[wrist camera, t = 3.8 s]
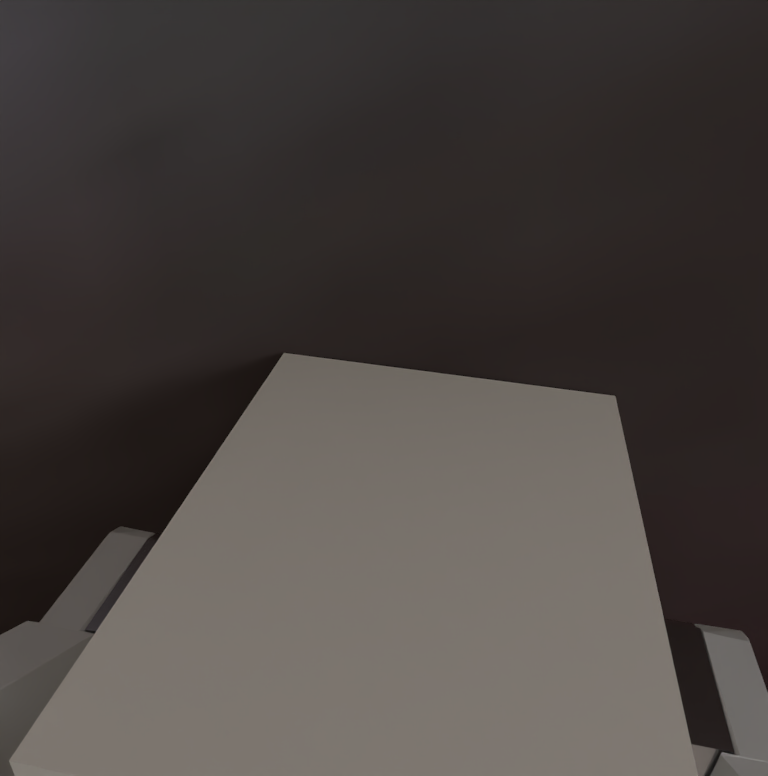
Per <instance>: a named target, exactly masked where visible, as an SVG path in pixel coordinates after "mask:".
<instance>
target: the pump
mask: <svg viewBox="0 0 768 776" xmlns="http://www.w3.org/2000/svg"><path fill="white" fill-rule="evenodd" d="M9 762H10V765H11V767H12V770H13V773H14V775H15V776H698V773H697V768H696V764H695V759H694V755H693V750H692V746H691V741H690V736H689V732H688V727H687V723H686V718H685V713H684V709H683V704H682V700H681V695H680V690H679V686H678V681H677V677H676V672H675V668H674V663H673V658H672V654H671V649H670V645H669V640H668V635H667V631H666V626H665V622H664V617H663V612H662V608H661V603H660V599H659V594H658V590H657V585H656V580H655V576H654V571H653V567H652V562H651V557H650V553H649V548H648V544H647V539H646V534H645V530H644V525H643V521H642V516H641V512H640V507H639V502H638V498H637V493H636V489H635V484H634V479H633V475H632V470H631V466H630V461H629V456H628V452H627V447H626V443H625V438H624V434H623V429H622V424H621V420H620V415H619V411H618V406H617V401H616V397H615V396H613V395H605V394H597V393H590V392H582V391H574V390H566V389H559V388H551V387H543V386H536V385H528V384H520V383H512V382H505V381H497V380H489V379H482V378H474V377H466V376H458V375H451V374H443V373H435V372H428V371H420V370H412V369H405V368H397V367H389V366H381V365H374V364H366V363H358V362H351V361H343V360H335V359H327V358H320V357H312V356H304V355H297V354H289V353H283V355H282V356H281V358H280V359H279V361H278V362H277V364H276V365H275V367H274V368H273V370H272V371H271V373H270V374H269V376H268V377H267V379H266V380H265V382H264V383H263V385H262V386H261V388H260V389H259V391H258V392H257V393H256V395H255V396H254V398H253V399H252V401H251V402H250V404H249V405H248V407H247V408H246V410H245V411H244V413H243V414H242V416H241V417H240V419H239V420H238V422H237V423H236V425H235V426H234V428H233V429H232V431H231V432H230V434H229V435H228V437H227V438H226V439H225V441H224V442H223V444H222V445H221V447H220V448H219V450H218V451H217V453H216V454H215V456H214V457H213V459H212V460H211V462H210V463H209V465H208V466H207V468H206V469H205V471H204V472H203V474H202V475H201V477H200V478H199V480H198V481H197V482H196V484H195V485H194V487H193V488H192V490H191V491H190V493H189V494H188V496H187V497H186V499H185V500H184V502H183V503H182V505H181V506H180V508H179V509H178V511H177V512H176V514H175V515H174V517H173V518H172V520H171V521H170V523H169V524H168V526H167V527H166V528H165V530H164V531H163V533H162V534H161V536H160V537H159V539H158V540H157V542H156V543H155V545H154V546H153V548H152V549H151V551H150V552H149V554H148V555H147V557H146V558H145V560H144V561H143V563H142V564H141V566H140V567H139V569H138V570H137V572H136V573H135V574H134V576H133V577H132V579H131V580H130V582H129V583H128V585H127V586H126V588H125V589H124V591H123V592H122V594H121V595H120V597H119V598H118V600H117V601H116V603H115V604H114V606H113V607H112V609H111V610H110V612H109V613H108V615H107V616H106V617H105V619H104V620H103V622H102V623H101V625H100V626H99V628H98V629H97V631H96V632H95V634H94V635H93V637H92V638H91V640H90V641H89V643H88V644H87V646H86V647H85V649H84V650H83V652H82V653H81V655H80V656H79V658H78V659H77V661H76V662H75V663H74V665H73V666H72V668H71V669H70V671H69V672H68V674H67V675H66V677H65V678H64V680H63V681H62V683H61V684H60V686H59V687H58V689H57V690H56V692H55V693H54V695H53V696H52V698H51V699H50V701H49V702H48V704H47V705H46V707H45V708H44V709H43V711H42V712H41V714H40V715H39V717H38V718H37V720H36V721H35V723H34V724H33V726H32V727H31V729H30V730H29V732H28V733H27V735H26V736H25V738H24V739H23V741H22V742H21V744H20V745H19V747H18V748H17V750H16V751H15V752H14V754H13V755H12V757H11V758H10V760H9Z"/></svg>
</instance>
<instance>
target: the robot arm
mask: <svg viewBox="0 0 768 776" xmlns="http://www.w3.org/2000/svg"><path fill="white" fill-rule="evenodd" d="M161 534H162V533H152V532H147V531H142V530H137V529H132V528H127V527H122V526H120V527H118V528H117V529H115V530H113V531H111V532H110V533H109V534H108V535H107V536H106V537H105V539H104V540H103V541H102V543H101V544H100V545H99V546H98V548H97V549H96V550H95V551H94V553H93V554H92V555H91V557H90V558H89V559H88V560H87V562H86V563H85V564H84V566H83V567H82V568H81V569H80V571H79V572H78V573H77V575H76V576H75V577H74V578H73V580H72V581H71V582H70V584H69V585H68V586H67V587H66V589H65V590H64V591H63V592H62V594H61V595H60V596H59V598H58V599H57V600H56V601H55V603H54V604H53V605H52V607H51V608H50V609H49V610H48V612H47V613H46V614H45V616H44V617H43V618H42V619H41V621H40V622H32V621H26V622H24V623H22V624H20V625H18V626H16V627H15V628H13V629H11V630H9V631H7V632H5V633H3V634H1V635H0V776H15V775H14V773H13V770H12V767H11V765H10V762H9V760H10V758H11V757H12V755H13V754H14V752H15V751H16V750H17V748H18V747H19V745H20V744H21V742H22V741H23V739H24V738H25V736H26V735H27V733H28V732H29V730H30V729H31V727H32V726H33V724H34V723H35V721H36V720H37V718H38V717H39V715H40V714H41V712H42V711H43V709H44V708H45V707H46V705H47V704H48V702H49V701H50V699H51V698H52V696H53V695H54V693H55V692H56V690H57V689H58V687H59V686H60V684H61V683H62V681H63V680H64V678H65V677H66V675H67V674H68V672H69V671H70V669H71V668H72V666H73V665H74V663H75V662H76V661H77V659H78V658H79V656H80V655H81V653H82V652H83V650H84V649H85V647H86V646H87V644H88V643H89V641H90V640H91V638H92V637H93V635H94V634H95V632H96V631H97V629H98V628H99V626H100V625H101V623H102V622H103V620H104V619H105V617H106V616H107V615H108V613H109V612H110V610H111V609H112V607H113V606H114V604H115V603H116V601H117V600H118V598H119V597H120V595H121V594H122V592H123V591H124V589H125V588H126V586H127V585H128V583H129V582H130V580H131V579H132V577H133V576H134V574H135V573H136V572H137V570H138V569H139V567H140V566H141V564H142V563H143V561H144V560H145V558H146V557H147V555H148V554H149V552H150V551H151V549H152V548H153V546H154V545H155V543H156V542H157V540H158V539H159V537H160V536H161ZM664 622H665V626H666V631H667V635H668V640H669V645H670V649H671V654H672V658H673V663H674V668H675V672H676V677H677V681H678V686H679V690H680V695H681V700H682V704H683V709H684V713H685V718H686V723H687V727H688V732H689V736H690V741H691V746H692V750H693V755H694V759H695V764H696V768H697V773H698V776H768V692H767V689H766V686H765V683H764V681H763V678H762V675H761V672H760V669H759V666H758V664H757V661H756V658H755V655H754V652H753V649H752V647H751V644H750V641H749V638H748V637H747V636H746V635H745V634H744V633H743V632H742V631H739V630H733V629H727V628H720V627H714V626H708V625H702V624H692V623H689V622H683V621H676V620H670V619H664Z"/></svg>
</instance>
